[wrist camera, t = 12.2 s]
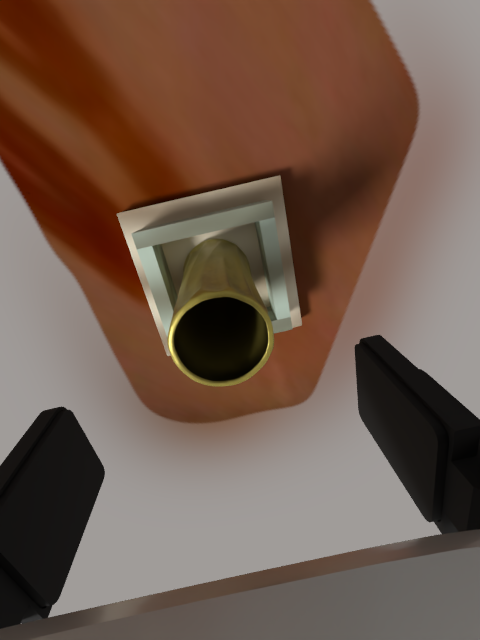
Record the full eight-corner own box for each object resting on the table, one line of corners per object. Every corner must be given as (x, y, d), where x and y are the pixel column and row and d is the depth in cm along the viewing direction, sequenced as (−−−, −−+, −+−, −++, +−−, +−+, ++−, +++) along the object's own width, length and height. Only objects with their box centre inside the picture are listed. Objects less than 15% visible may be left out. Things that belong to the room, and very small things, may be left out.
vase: (261, 256, 28) (306, 312, 14) (232, 313, 30) (249, 409, 16) (199, 226, 26) (186, 258, 13) (173, 288, 28) (139, 371, 15)
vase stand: (121, 212, 27) (102, 216, 22) (276, 176, 26) (289, 172, 22) (169, 349, 32) (162, 374, 28) (298, 319, 32) (312, 340, 27)
